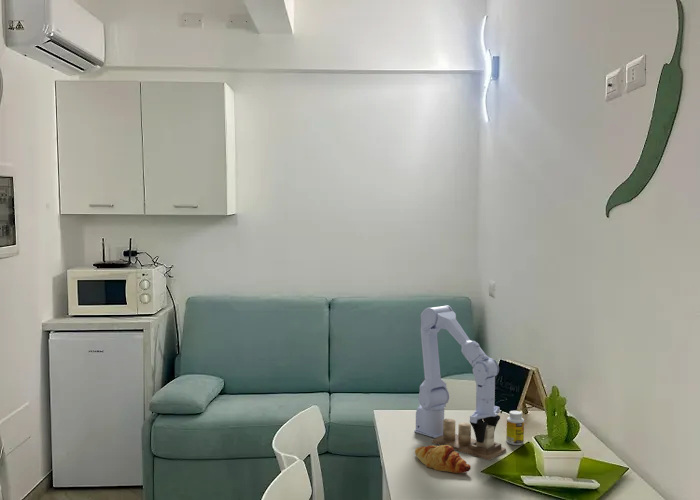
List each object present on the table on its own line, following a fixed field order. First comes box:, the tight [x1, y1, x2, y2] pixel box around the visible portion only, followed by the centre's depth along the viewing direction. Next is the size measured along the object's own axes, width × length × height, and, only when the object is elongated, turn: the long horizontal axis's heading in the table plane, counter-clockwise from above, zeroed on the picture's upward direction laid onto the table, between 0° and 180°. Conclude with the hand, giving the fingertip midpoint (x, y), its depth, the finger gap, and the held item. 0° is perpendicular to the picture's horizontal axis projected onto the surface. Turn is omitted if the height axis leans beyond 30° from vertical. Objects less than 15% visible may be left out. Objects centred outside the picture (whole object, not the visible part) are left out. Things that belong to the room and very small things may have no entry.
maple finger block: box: [476, 425, 495, 449], centre depth 207 cm, size 4×4×7 cm
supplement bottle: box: [505, 410, 525, 446], centre depth 215 cm, size 6×6×10 cm
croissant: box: [414, 444, 472, 474], centre depth 196 cm, size 21×10×8 cm, turn 43°
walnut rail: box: [431, 418, 507, 461], centre depth 211 cm, size 22×10×7 cm, turn 47°
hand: (484, 439), depth 207 cm, fingers open, 5 cm apart
